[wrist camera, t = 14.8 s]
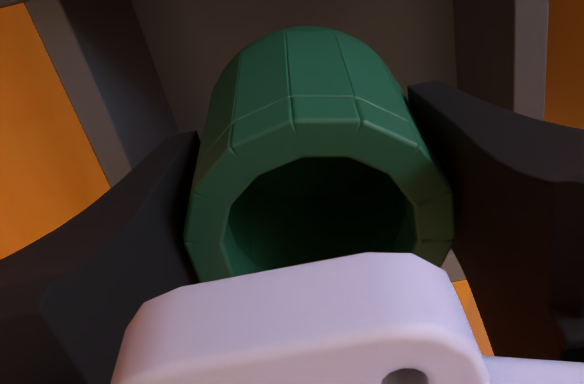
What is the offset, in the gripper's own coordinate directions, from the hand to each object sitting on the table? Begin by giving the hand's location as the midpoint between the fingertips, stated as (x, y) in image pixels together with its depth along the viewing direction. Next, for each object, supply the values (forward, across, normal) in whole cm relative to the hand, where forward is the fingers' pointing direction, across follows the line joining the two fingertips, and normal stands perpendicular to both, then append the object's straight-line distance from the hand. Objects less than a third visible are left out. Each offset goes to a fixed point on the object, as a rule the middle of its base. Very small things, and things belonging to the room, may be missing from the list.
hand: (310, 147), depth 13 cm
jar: (+1, 0, 0) cm, 1 cm away
